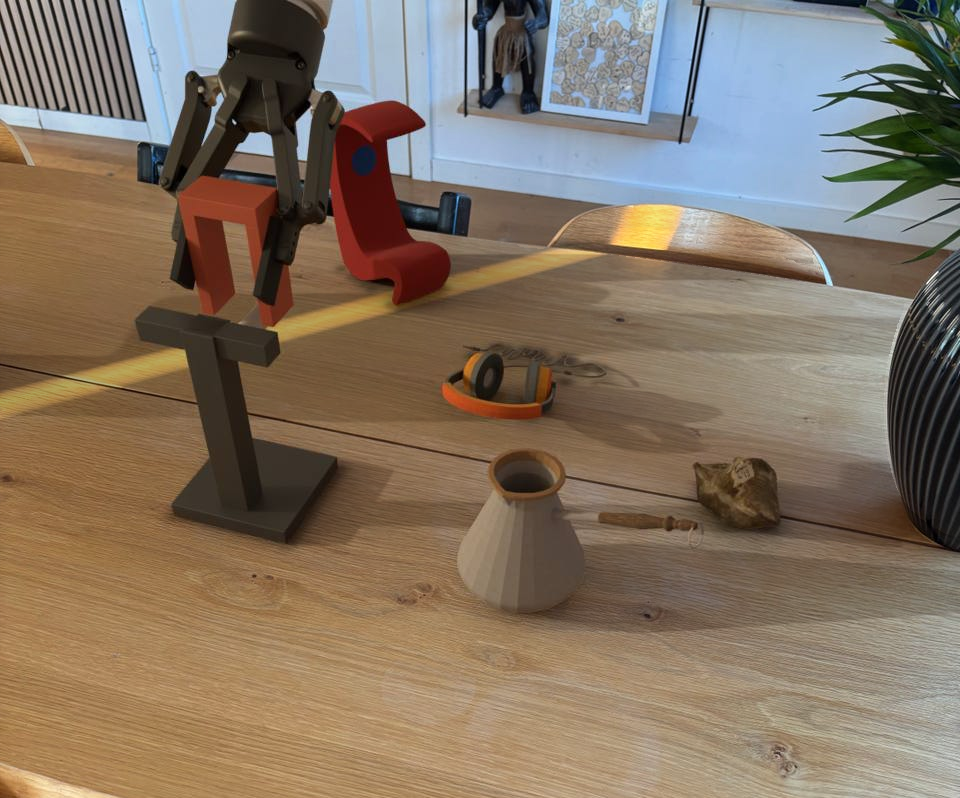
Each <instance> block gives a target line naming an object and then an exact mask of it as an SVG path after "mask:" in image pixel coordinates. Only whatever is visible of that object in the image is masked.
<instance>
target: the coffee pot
mask: <svg viewBox="0 0 960 798" xmlns="http://www.w3.org/2000/svg"><path fill="white" fill-rule="evenodd" d="M566 478H567V473H566V468H565V467H564V464H563V463H562V461H560V459H558V458H557V457H556V455H555V456H554V455H553V454H551V453H549V452H547V451H544V450H541V449H537V448H529V447H527V448H526V447H524V448H523V447H521V448H513V449H509V450H507V451H504V452H501V453H500V454H499V455H497V456H495V457H494V458H493V460H492V461H491V462H490V463H489V466H488V467H487V479H488V481H489V483H490V485H491V487H492V488H493V490H492V492H491V493H490V495H489V497H488V498H487V500H486V502H485V503H484V505H483V507H482V508H481V510H480V511H479V513H478V515H477V517H476V518H475V520H474V522H473V523H472V525H471V527H470V528H469V530H468V531H467V533H466V534H465V537H463V539H462V540H461V543H460V546H459V549H458V552H457V554H456V563H457V571H458V573H459V575H460V579H461V580H462V582H463V584H464V585H465V586H466V588H467V589H468V591H470V592H471V594H472V595H473V596H474V597H475V598H477V599H478V600H479V601H481V602H483V603H484V604H486V605H488V606H490V607H493V608H495V609H498V610H500V611H503V612H506V613H512V614H533V613H538V612H542V611H546V610H549V609H551V608H554V607H555V606H557V605H560V604H562V603H563V602H564V601H566V600H567V599H568V598H569V597H570V596H572V594H574V592H575V591H576V590H577V589H578V587H579V585H580V584H581V582H582V581H583V579H584V577H585V572H586V567H587V563H586V556H585V551H584V548H583V547H582V544H581V542H580V540H579V537H578V535H577V533H576V531H575V528H574V526H573V525H572V521H573V522H586V523H588V522H589V523H599V524H603V525H610V526H616V527H623V528H630V529H636V530H641V531H642V530H644V531H645V530H655V529H657V530H658V529H664V531H665V532H667V533H671V532H672V531H674V530H680V531H682V532H683V531H684V532H688V534H687V545H688V547H689V548H690V549H697V548H699V547H700V546H701V544H702V542H703V538H704V535H705V527H704V524H703V523H702V522H696V521H693V520H692V519H691V520H690V519H686V518H683V519H676V518H675V517H673V515H667V516H666V517H665V518H664V517H661V516H656V515H652V514H648V513H644V512H642V513H641V512H603V511H602V512H594V511H586V510H585V511H584V510H576V509H566V508H565V507H564V505H563V501H562V500H561V498H560V496H559V493H558V492H559V491H560V490H561V489H562V487H563V486H564V485H565V483H566ZM699 527H700V537H699V540H698V542H697V544H696V545H694V546H692V544H691V536H692V533H693V531H696V530H698V528H699Z"/></svg>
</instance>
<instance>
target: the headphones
mask: <svg viewBox="0 0 960 798" xmlns="http://www.w3.org/2000/svg"><path fill="white" fill-rule="evenodd" d="M494 347H501V348H504V349H503V350H502V351H500V353H495V352H493V351H490V350H491V349H492V348H494ZM462 348H463V349H464V348H465V349H468V350H470V351H472V352H473V351H474V352H476V353H475V354H473V355H472V356H471V357H470V358H469V359H468V361H467V362H466V364H465V366H464V367H463V368H461V369H458V370H456V371H453V372H452V373H451V374H449V375H448V376H447V377H445V379H444V382H443V384H442V387H441V390H442V396H443V398H444V399H445V401H447V402H448V403H449V404H450V405H452V406H453V407H456V408H458V409H460V410H462V411H465V412H468V413H471V414H473V415H477V416H478V415H479V416H483V417H488V418H493V419H498V420H499V419H500V420H513V421H521V420H522V421H523V420H533V419H538V418H540V417H541V415H543V414H545V413H547V412H548V411H550V409H551V408H552V406H553V404H554V400H555V395H556V388H557V382H556V381H553V373H558V374H559V373H560V374H564V375H565V376H576V377H580V378H588V379H598V378H602V377H604V376H606V375H607V369H606V368H605V367H604V366H602V365H600V364H598V363H592V362H589V363H582V364H568V363H567V362H568V360H569V358H570V357H569V356H568V355H562V356H560V357H559V358H558V359H556V360H555V361H554V362H552V363H547V362H548V361H549V360H550V357H549V355H548V356H547V355H543V356H540V355H541V353H542V352H541V350H539V349H533V350H532V351H531V352H529V350H530V349H529V348H528V347H525V348H524V347H523V348H522V349H521V350H520V351H519V353H517V354H516V355H515V356H514V357H513V355H514V354H515V353H516V352H517V349H516V348H511V349H509V350H508V346H507V345H505V344H499V343H495V344H492V345H490V346H489V347H488V348H487V347H486V348H485V349H484V348H483V349H482V348H480V347H476V346H468V345H463V346H462ZM507 350H508V351H507ZM506 351H507V352H506ZM477 352H478V353H477ZM482 352H483V353H482ZM528 352H529V353H528ZM534 353H537V354H536V355H535V356H533V357H532V358H531V362H529V363H528V364H509V365H504V360H503V358H502V356H503V357H505V356H507V357H506V359H507V360H509V361H515V360H517V358H519V356H521V354H522V356H523V357H529V356H531V355H532V354H534ZM539 356H540V357H539ZM564 358H565V360H564V362H563V364H564V366H566V367H569V368H580V367H585V366H594V367H597V368H599V369H602V370H603V373H602V374H598V375H587V374H579V373H574V372H572V371H570V370H561V369H557V368H551V367H552V366H553V367H554V366H555V365H556V364H557V363H559V362H560V361H561V360H563V359H564ZM542 359H544V360H543V362H542V366H541V364H540V362H539V361H541V360H542ZM507 368H526V374H525V375H526V376H525V382H524V389H523V397H522V403H520V404H518V403H517V404H512V403H511V404H510V403H501V402H494V401H490V400H491V399H492V398H494V396H496V395H497V393H498V391H499V390H500V388H501V386H502V383H503V381H504V374H505V369H507ZM459 381H462V385H463V388H464V390H465V391H466V392H467V393H469V394H470V395H471V396H470V395H468V394H466V393H463V392H462V391H460V390H458V389H456V388H455V387H454V386H453V385H454V384H456V383H458V382H459Z"/></svg>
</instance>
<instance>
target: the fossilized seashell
mask: <svg viewBox="0 0 960 798" xmlns="http://www.w3.org/2000/svg"><path fill="white" fill-rule="evenodd" d="M692 470H693V471H694V477H695V485H696V487H695V488H696V498H697V501H698V502H699V504H700V505H701V506H702V507H704V509H706V510H709V511H711V514H713V516H714V517H715V518H716V519H717V520H718V521H720V522H722V523H723V524H725V525H727V526H728V525H729V526H731V527H734V528H739V529H746V530H753V529H760V528H768V527H775V528H776V527H778V526H780V524H781V522H782V521H781V511H780V505H779V496H778V476H777V472H776V471H775V469H774V468H772V466H771V465H770V464H769V462H767V461H766V460H764V459H763V458H760V457H747V458H744V457H741V456H736V457H734V458H733V460H732V461H731V462H728V463H727V462H719V463H718V462H717V463H700V462H698V461H695V462H693V464H692Z"/></svg>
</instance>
